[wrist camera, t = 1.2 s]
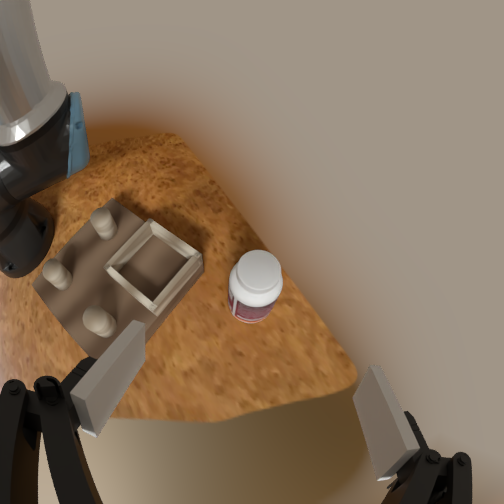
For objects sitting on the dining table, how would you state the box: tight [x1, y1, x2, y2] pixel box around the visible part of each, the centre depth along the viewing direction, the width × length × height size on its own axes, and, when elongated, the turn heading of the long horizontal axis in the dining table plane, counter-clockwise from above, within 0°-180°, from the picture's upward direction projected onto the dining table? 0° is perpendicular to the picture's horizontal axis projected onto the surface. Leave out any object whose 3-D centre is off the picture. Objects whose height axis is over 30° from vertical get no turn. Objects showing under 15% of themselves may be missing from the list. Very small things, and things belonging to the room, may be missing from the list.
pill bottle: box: [228, 250, 283, 323], centre depth 34 cm, size 6×6×11 cm
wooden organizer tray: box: [32, 198, 204, 360], centre depth 34 cm, size 20×20×7 cm
